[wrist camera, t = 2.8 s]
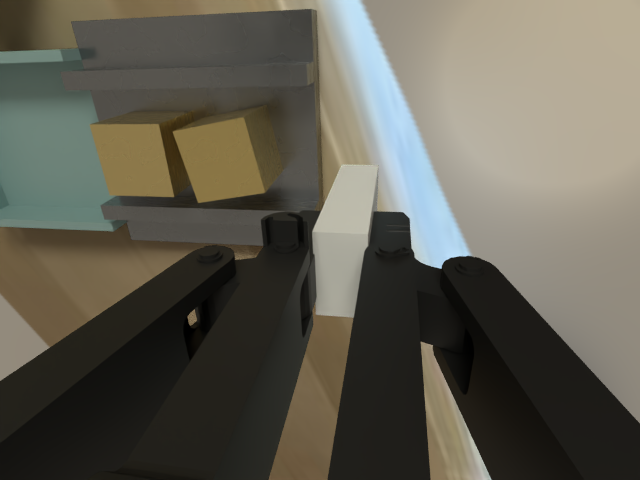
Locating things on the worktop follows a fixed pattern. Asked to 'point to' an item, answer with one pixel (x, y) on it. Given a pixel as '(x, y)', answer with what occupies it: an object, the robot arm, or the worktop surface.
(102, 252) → the worktop surface
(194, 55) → the slot board
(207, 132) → the wooden cube
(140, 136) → the wooden block
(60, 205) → the tray
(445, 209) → the worktop surface
